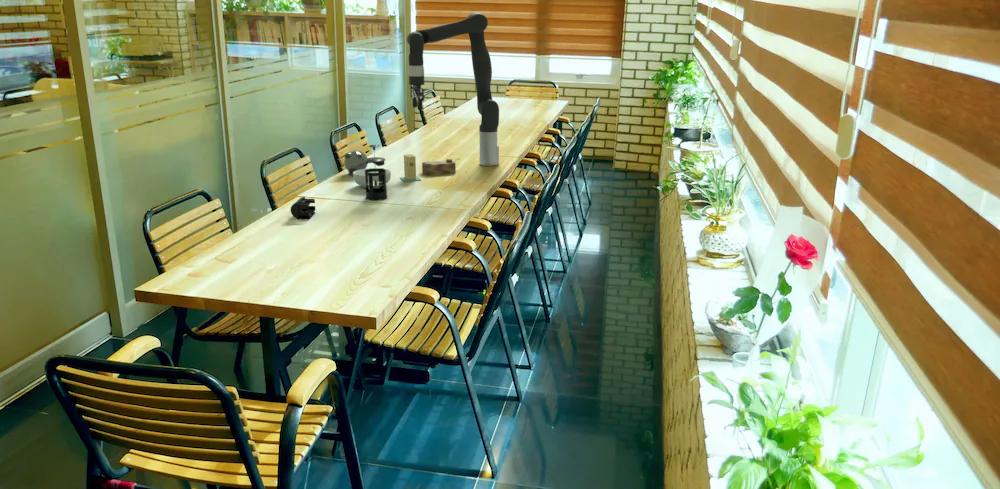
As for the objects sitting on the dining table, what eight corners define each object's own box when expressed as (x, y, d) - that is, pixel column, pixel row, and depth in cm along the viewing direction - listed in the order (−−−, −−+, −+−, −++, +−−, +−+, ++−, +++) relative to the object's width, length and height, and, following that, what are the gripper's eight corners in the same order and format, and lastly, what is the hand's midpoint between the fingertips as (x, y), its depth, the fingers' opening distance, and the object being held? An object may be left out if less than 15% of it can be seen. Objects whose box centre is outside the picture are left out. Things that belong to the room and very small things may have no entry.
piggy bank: (341, 177, 364) (339, 153, 361) (348, 170, 378) (347, 147, 375) (364, 177, 364) (363, 154, 360) (371, 171, 378) (369, 148, 374)
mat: (415, 176, 366) (415, 176, 366) (421, 180, 359) (420, 179, 359) (399, 178, 363) (399, 177, 363) (404, 181, 356) (404, 181, 356)
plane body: (451, 170, 380) (450, 157, 378) (455, 172, 374) (455, 160, 372) (422, 172, 374) (422, 160, 372) (426, 175, 369) (426, 162, 367)
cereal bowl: (397, 184, 352) (396, 169, 350) (380, 192, 337) (379, 176, 335) (365, 181, 358) (364, 166, 355) (346, 189, 343) (345, 174, 340)
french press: (380, 201, 322) (377, 148, 315) (360, 199, 325) (357, 146, 318) (393, 195, 333) (390, 143, 325) (373, 193, 336) (371, 141, 328)
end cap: (298, 212, 306) (297, 196, 304) (316, 213, 306) (314, 196, 304) (291, 219, 297) (289, 203, 295) (309, 220, 297) (307, 203, 294)
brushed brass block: (412, 176, 364) (412, 154, 361) (416, 179, 359) (415, 156, 355) (404, 177, 363) (403, 154, 359) (408, 180, 357) (407, 157, 354)
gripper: (428, 76, 364) (429, 110, 369) (419, 73, 377) (420, 106, 382) (413, 76, 361) (414, 110, 366) (404, 73, 374) (406, 107, 379)
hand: (417, 108), depth 374 cm, fingers open, 8 cm apart
